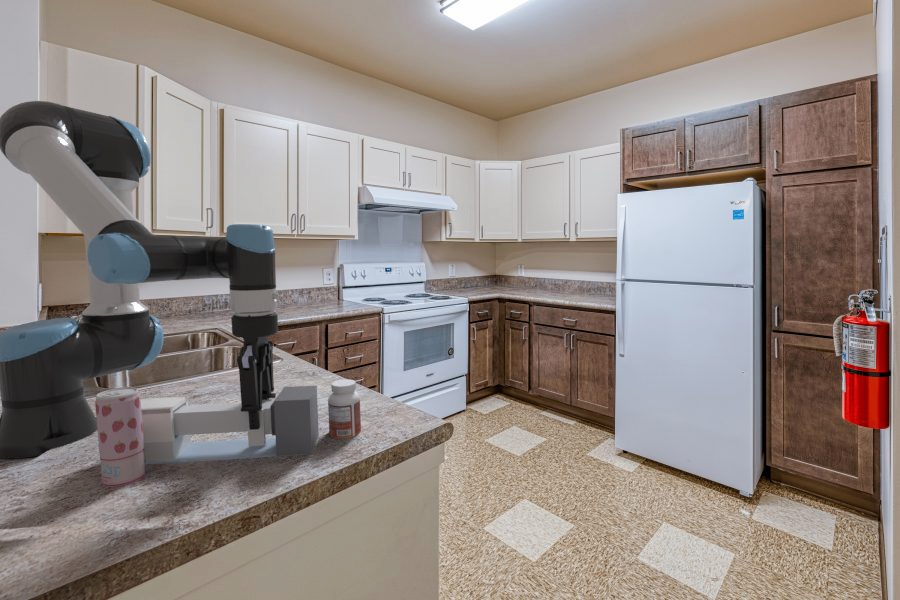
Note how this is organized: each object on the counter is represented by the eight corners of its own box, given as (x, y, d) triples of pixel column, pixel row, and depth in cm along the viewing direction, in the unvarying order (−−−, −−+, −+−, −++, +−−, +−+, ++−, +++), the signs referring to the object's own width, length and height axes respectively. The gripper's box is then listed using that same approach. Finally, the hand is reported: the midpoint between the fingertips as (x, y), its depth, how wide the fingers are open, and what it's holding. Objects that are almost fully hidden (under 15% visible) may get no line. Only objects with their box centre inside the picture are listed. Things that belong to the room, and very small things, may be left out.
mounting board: (114, 472, 74) (114, 466, 73) (141, 450, 81) (140, 445, 81) (311, 459, 78) (311, 453, 78) (318, 440, 86) (318, 435, 86)
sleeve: (116, 464, 74) (112, 411, 73) (138, 447, 81) (134, 398, 80) (174, 460, 75) (170, 408, 74) (191, 444, 82) (187, 395, 81)
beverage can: (93, 489, 68) (84, 396, 66) (128, 472, 74) (121, 385, 72) (121, 495, 67) (113, 399, 65) (155, 476, 72) (148, 388, 70)
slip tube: (155, 442, 75) (152, 411, 75) (170, 429, 80) (168, 400, 80) (300, 433, 79) (299, 404, 78) (305, 422, 84) (304, 394, 83)
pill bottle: (349, 427, 92) (348, 376, 91) (367, 436, 88) (366, 382, 87) (323, 436, 87) (321, 382, 86) (340, 446, 83) (338, 389, 82)
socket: (276, 456, 77) (273, 401, 76) (286, 437, 85) (284, 386, 84) (311, 453, 78) (309, 399, 77) (318, 435, 86) (316, 385, 85)
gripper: (263, 319, 70) (270, 459, 72) (287, 306, 87) (292, 420, 89) (213, 320, 69) (221, 462, 71) (247, 306, 86) (253, 422, 88)
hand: (260, 438), depth 80 cm, fingers closed on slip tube, 4 cm apart
